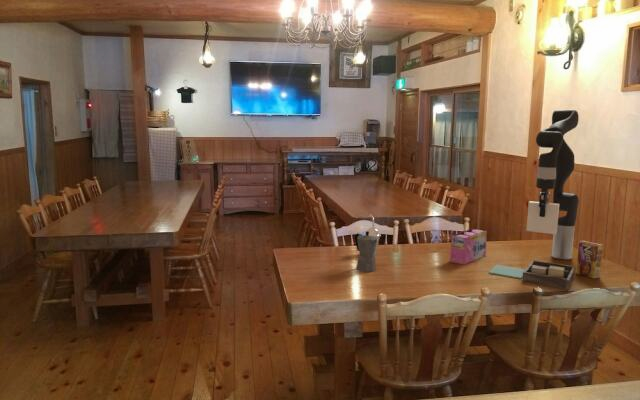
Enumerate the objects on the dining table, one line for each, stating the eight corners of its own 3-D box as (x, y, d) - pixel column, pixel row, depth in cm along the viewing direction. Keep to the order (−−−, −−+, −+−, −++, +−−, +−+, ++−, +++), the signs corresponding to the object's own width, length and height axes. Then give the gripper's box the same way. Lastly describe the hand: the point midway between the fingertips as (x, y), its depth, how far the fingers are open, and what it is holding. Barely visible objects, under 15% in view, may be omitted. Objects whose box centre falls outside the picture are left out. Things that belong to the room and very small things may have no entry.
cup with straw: (362, 255, 250) (363, 216, 247) (365, 250, 258) (366, 213, 255) (378, 256, 247) (380, 218, 244) (381, 251, 256) (383, 214, 253)
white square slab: (527, 229, 221) (530, 201, 219) (556, 232, 215) (559, 203, 213) (526, 230, 218) (528, 202, 216) (555, 234, 212) (558, 205, 210)
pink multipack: (473, 252, 257) (474, 227, 255) (487, 255, 251) (489, 230, 249) (449, 261, 240) (451, 234, 238) (464, 265, 235) (466, 237, 232)
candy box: (600, 277, 218) (603, 244, 215) (594, 279, 215) (598, 245, 213) (581, 272, 225) (584, 240, 223) (575, 273, 223) (578, 241, 221)
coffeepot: (383, 271, 224) (384, 233, 221) (367, 274, 219) (368, 235, 216) (362, 262, 236) (363, 226, 233) (346, 265, 231) (347, 228, 228)
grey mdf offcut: (532, 278, 216) (533, 265, 215) (545, 280, 213) (547, 267, 212) (530, 280, 213) (531, 267, 212) (544, 283, 210) (545, 269, 209)
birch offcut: (548, 281, 212) (550, 265, 211) (563, 283, 209) (564, 267, 208) (547, 283, 209) (548, 267, 208) (561, 286, 206) (563, 270, 205)
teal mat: (496, 265, 233) (496, 264, 233) (527, 271, 226) (527, 269, 226) (488, 273, 222) (488, 272, 222) (521, 279, 214) (521, 277, 214)
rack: (530, 270, 227) (531, 259, 227) (573, 277, 218) (574, 266, 217) (522, 281, 212) (523, 270, 211) (568, 289, 202) (569, 277, 201)
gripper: (539, 175, 220) (536, 212, 223) (534, 178, 209) (530, 217, 211) (557, 176, 216) (554, 214, 219) (553, 179, 205) (549, 219, 207)
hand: (542, 215), depth 215 cm, fingers closed on white square slab, 3 cm apart
